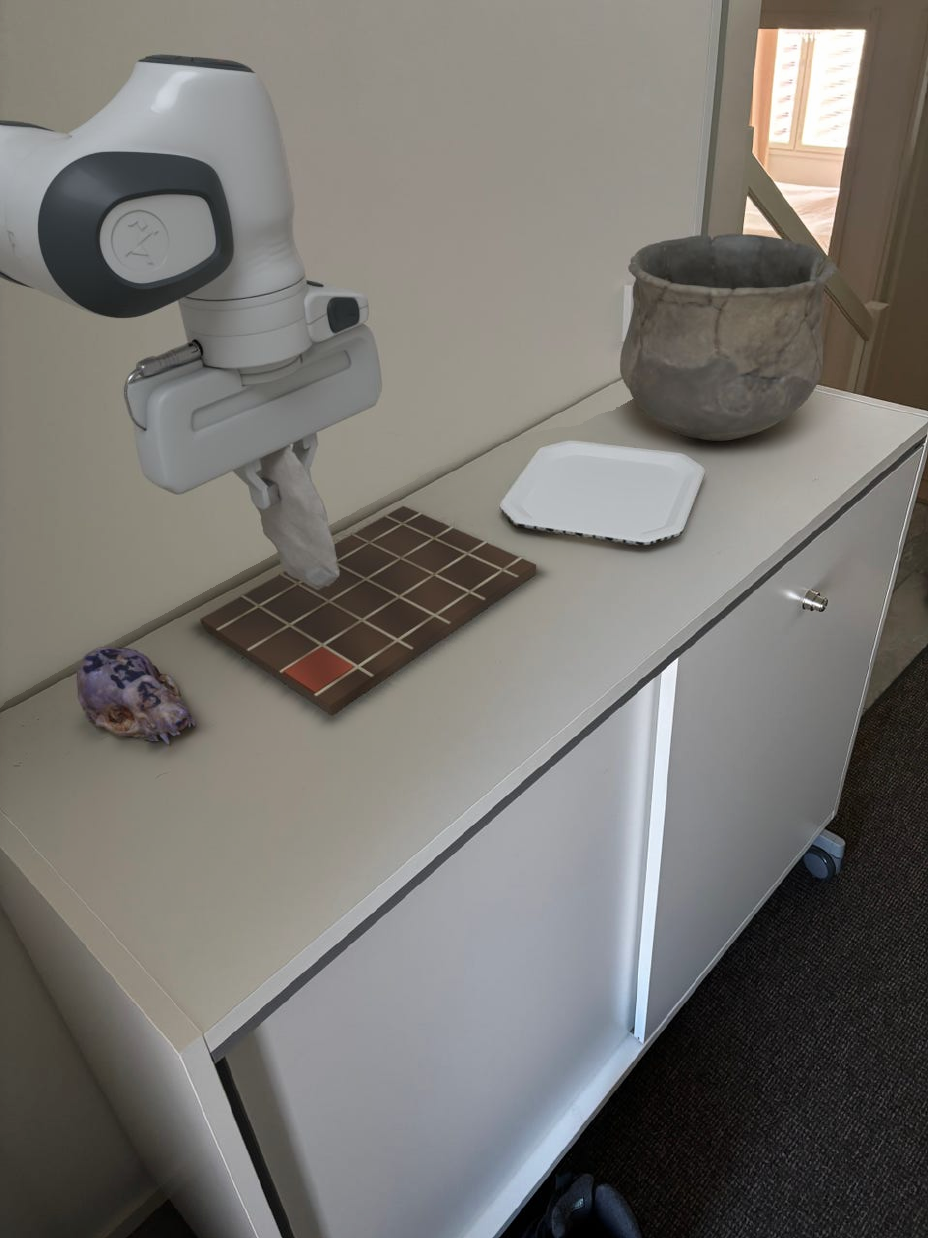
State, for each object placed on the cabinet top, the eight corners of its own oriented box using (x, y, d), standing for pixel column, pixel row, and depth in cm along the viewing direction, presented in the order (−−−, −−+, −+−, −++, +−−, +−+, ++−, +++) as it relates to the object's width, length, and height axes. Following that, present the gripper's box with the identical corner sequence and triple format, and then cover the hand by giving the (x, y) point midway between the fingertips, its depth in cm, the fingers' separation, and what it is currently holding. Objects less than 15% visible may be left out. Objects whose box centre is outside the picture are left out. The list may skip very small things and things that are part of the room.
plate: (709, 472, 111) (710, 455, 110) (674, 563, 96) (676, 545, 95) (545, 452, 118) (545, 436, 117) (489, 533, 103) (488, 516, 102)
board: (331, 715, 80) (329, 704, 80) (202, 628, 92) (199, 617, 91) (536, 574, 96) (536, 562, 95) (404, 514, 107) (403, 503, 107)
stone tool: (266, 578, 81) (205, 432, 70) (289, 556, 82) (234, 410, 72) (346, 607, 76) (294, 455, 66) (369, 583, 78) (322, 431, 68)
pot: (844, 422, 120) (879, 251, 107) (739, 488, 108) (764, 305, 95) (687, 374, 135) (700, 220, 122) (579, 427, 123) (581, 263, 110)
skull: (218, 720, 80) (191, 670, 76) (143, 777, 76) (111, 728, 73) (151, 667, 87) (123, 619, 83) (80, 716, 84) (47, 669, 80)
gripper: (142, 380, 57) (194, 566, 65) (384, 291, 68) (402, 459, 77) (91, 358, 60) (146, 537, 69) (329, 277, 72) (352, 439, 80)
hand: (283, 495), depth 73 cm, fingers closed on stone tool, 2 cm apart
